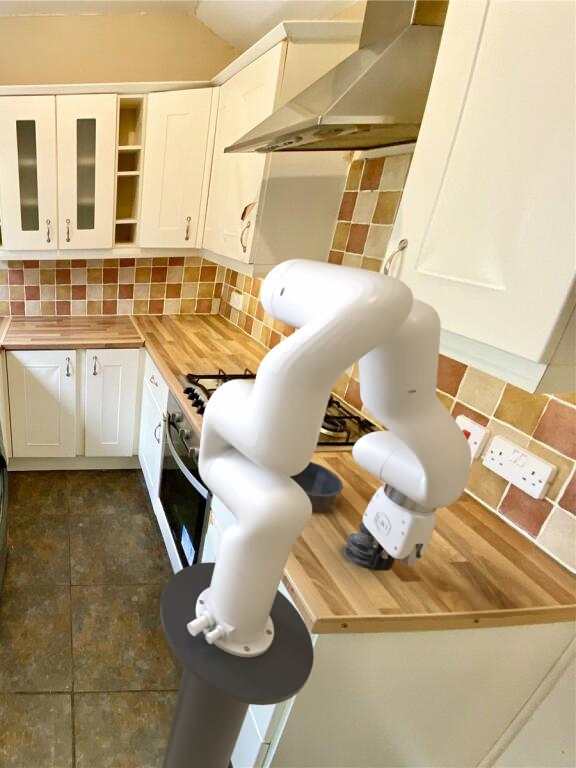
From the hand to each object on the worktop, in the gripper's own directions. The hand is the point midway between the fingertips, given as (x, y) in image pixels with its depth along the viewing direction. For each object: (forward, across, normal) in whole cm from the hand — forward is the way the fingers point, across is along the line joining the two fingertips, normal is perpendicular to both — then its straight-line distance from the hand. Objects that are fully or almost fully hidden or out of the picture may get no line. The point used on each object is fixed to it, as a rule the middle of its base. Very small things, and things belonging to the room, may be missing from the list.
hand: (378, 567), depth 80 cm
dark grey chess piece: (+3, -4, 0) cm, 5 cm away
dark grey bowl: (+3, -25, -2) cm, 25 cm away
